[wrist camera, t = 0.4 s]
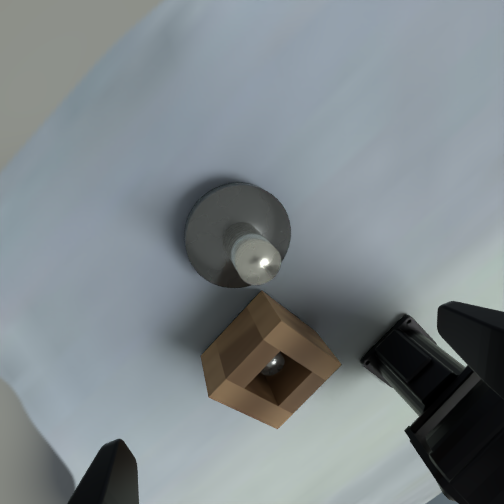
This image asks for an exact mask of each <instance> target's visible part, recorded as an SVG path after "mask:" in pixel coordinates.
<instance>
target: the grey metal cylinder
mask: <svg viewBox="0 0 504 504" xmlns="http://www.w3.org/2000/svg"><path fill="white" fill-rule="evenodd" d="M284 362H285V361H284V358H283V356H282V354H281V352H279V353H278V354H277V355H276V356H275V357H274V358H273V359H272V360H271V361H270V362H269V363H268V364H267V365H266V366H265V367H264V368H263V370H262V371H261V373H262V374H263V375H267V376H270V375H274V374H276V373H278V372H279V371H280V370H281V369H282V368H283V366H284Z"/></svg>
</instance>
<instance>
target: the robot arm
mask: <svg viewBox="0 0 504 504" xmlns="http://www.w3.org/2000/svg"><path fill="white" fill-rule="evenodd" d="M437 329H438V332H439V334H440V335H441V337H442V338H443V339H444V340H445V341H446V342H447V343H448V344H449V345H450V346H451V347H452V349H453V350H454V351H455V352H456V353H457V354H458V355H459V356H460V357H461V358H462V359H463V360H464V361H465V362H466V363H467V366H466V367H464V366H463V365H462V364H461V363H459V362H458V361H457V360H455V359H454V358H453V357H451V356H450V355H449V354H448V353H446V352H445V351H444V350H442V349H441V348H440V347H438V346H437V344H436V342H435V341H434V340H433V339H432V338H431V337H430V336H429V335H428V334H427V333H426V332H425V331H424V330H423V328H422V327H421V326H420V325H419V324H418V323H417V322H416V321H415V320H414V319H413V318H412V317H411V316H409V315H405V316H404V317H403V318H402V319H401V320H400V321H399V322H398V323H397V324H396V325H395V326H394V327H393V328H392V329H391V330H390V331H389V332H388V333H387V334H386V335H385V336H384V337H383V338H382V339H381V340H380V341H379V342H378V343H377V344H376V345H375V346H374V347H373V348H372V349H371V350H370V351H369V352H368V353H367V354H366V355H365V356H364V357H363V358H362V359H361V363H362V365H363V366H364V367H365V368H367V369H368V370H369V371H371V372H372V373H373V374H375V375H376V376H377V377H378V378H380V379H381V380H382V381H384V382H385V383H386V384H387V385H389V386H390V387H392V388H394V389H395V390H396V392H397V393H398V394H399V395H400V396H401V397H402V398H403V399H404V400H405V401H406V402H407V404H408V405H409V406H410V407H411V408H412V409H413V410H414V411H415V412H416V413H417V414H418V415H419V417H418V418H417V419H416V420H415V422H414V423H413V424H412V425H411V426H408V427H407V428H406V429H405V430H404V431H405V432H406V434H407V435H408V437H409V438H410V442H411V443H412V445H413V446H414V448H415V449H416V451H417V452H418V454H419V455H420V457H421V458H422V460H423V461H424V463H425V464H426V466H427V467H428V469H429V470H430V472H431V473H432V475H433V476H434V478H435V479H436V481H437V483H438V485H439V487H440V489H441V491H442V492H443V494H444V495H445V496H446V497H447V498H448V499H449V500H453V501H456V502H458V503H459V504H504V312H502V311H497V310H493V309H488V308H484V307H479V306H474V305H470V304H465V303H461V302H456V301H450V302H448V303H445V304H443V305H441V306H439V308H438V314H437ZM67 504H139V493H138V470H137V463H136V459H135V457H134V456H133V454H132V453H131V451H130V450H129V448H128V447H127V445H126V444H125V442H124V441H123V440H122V439H116V440H114V441H112V442H109V443H107V444H105V445H103V446H102V447H101V449H100V450H99V452H98V453H97V455H96V457H95V458H94V460H93V462H92V463H91V465H90V467H89V468H88V470H87V471H86V473H85V475H84V476H83V478H82V480H81V481H80V483H79V485H78V486H77V488H76V490H75V491H74V493H73V495H72V496H71V498H70V500H69V501H68V503H67Z"/></svg>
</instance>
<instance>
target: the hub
mask: <svg viewBox="0 0 504 504" xmlns="http://www.w3.org/2000/svg"><path fill="white" fill-rule="evenodd" d="M290 237H291V227H290V221H289V218H288V215H287V213H286V210H285V209H284V207H283V206H282V204H281V203H280V202H279V201H278V199H277V198H275V197H274V196H273V195H272V194H270V193H269V192H267V191H265V190H264V189H262V188H259V187H257V186H255V185H251V184H247V183H230V184H225V185H222V186H219V187H217V188H214V189H213V190H211V191H209V192H208V193H206V194H205V195H204V196H203V197H202V198H201V199H200V200H199V201H198V202H197V203H196V204H195V205H194V207H193V208H192V210H191V212H190V214H189V216H188V219H187V221H186V225H185V233H184V238H185V246H186V250H187V254H188V257H189V260H190V262H191V264H192V266H193V267H194V268H195V270H196V271H197V272H198V273H199V274H200V275H201V276H202V277H203V278H204V279H206V280H207V281H209V282H211V283H213V284H215V285H218V286H222V287H227V288H241V287H246V286H250V285H261V284H265V283H267V282H269V281H270V280H272V279H273V278H274V277H275V276H276V274H277V273H278V271H279V269H280V266H281V262H282V260H283V259H284V257H285V255H286V253H287V250H288V247H289V243H290Z"/></svg>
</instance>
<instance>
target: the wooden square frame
mask: <svg viewBox="0 0 504 504" xmlns="http://www.w3.org/2000/svg"><path fill="white" fill-rule="evenodd" d="M279 352H281V354H282V356H283V358H284V361H285V362H284V366H283V368H282V369H281V370H280V371H279V372H278V373H276V374H274V375H270V376H267V375H263V374H262V373H261V371H262V370H263V368H264V367H265V366H266V365H267V364H268V363H269V362H270V361H271V360H272V359H273V358H274V357H275V356H276V355H277V354H278V353H279ZM201 360H202V365H203V371H204V376H205V381H206V386H207V392H208V397H209V398H211V399H213V400H215V401H218V402H220V403H222V404H224V405H226V406H228V407H231V408H233V409H235V410H237V411H239V412H241V413H244V414H246V415H248V416H250V417H252V418H254V419H257V420H259V421H261V422H263V423H265V424H267V425H270V426H272V427H274V428H276V429H278V428H279V427H280V426H281V425H282V424H283V423H284V422H285V421H286V420H287V419H288V418H289V417H290V416H291V415H292V414H293V413H294V412H295V411H296V410H297V409H298V408H299V407H300V406H301V405H302V404H303V403H304V402H305V401H306V400H307V399H308V398H309V397H310V396H311V395H312V394H313V393H314V392H315V391H316V390H317V389H318V388H319V387H320V386H321V385H322V384H323V383H324V382H325V381H326V380H327V379H328V378H329V377H330V376H331V375H332V374H333V373H334V372H335V371H336V370H337V369H338V368H339V367H340V366H341V365H342V364H341V363H340V362H339V360H338V359H337V358H336V357H335V355H334V354H333V353H332V352H331V350H330V349H329V348H328V346H327V345H326V344H325V343H324V341H323V340H322V339H321V338H320V336H319V335H318V334H317V333H316V332H315V331H314V330H313V329H312V328H310V327H309V326H308V325H306V324H305V323H304V322H302V321H301V320H300V319H298V318H297V317H296V316H295V315H293V314H292V313H291V312H289V311H288V310H287V309H285V308H284V307H283V306H281V305H280V304H279V303H277V302H276V301H275V300H274V299H272V298H271V297H270V296H268V295H267V294H266V293H264V292H263V291H261V292H260V293H259V294H258V295H257V296H256V297H255V298H254V299H253V300H252V301H251V302H250V303H249V305H248V306H247V307H246V308H245V309H244V310H243V311H242V312H241V313H240V314H239V315H238V316H237V317H236V319H235V320H234V321H233V322H232V323H231V324H230V325H229V326H228V327H227V328H226V329H225V330H224V331H223V332H222V334H221V335H220V336H219V337H218V338H217V339H216V340H215V341H214V342H213V343H212V344H211V345H210V346H209V348H208V349H207V350H206V351H205V352H204V353H203V354H202V355H201Z"/></svg>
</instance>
